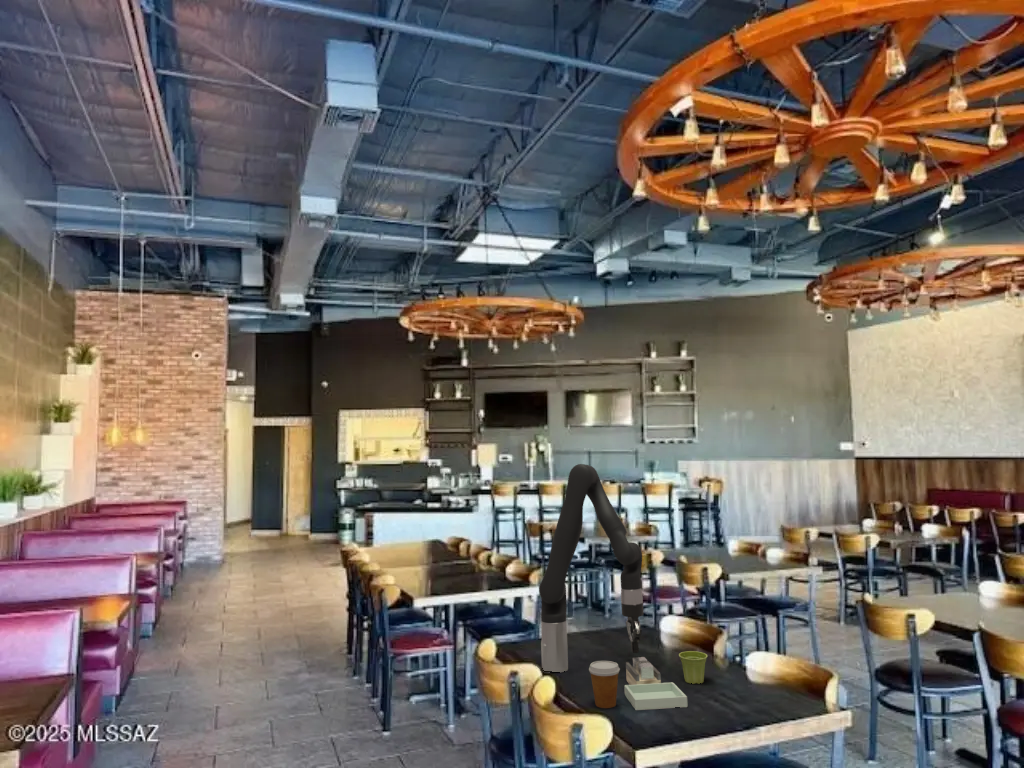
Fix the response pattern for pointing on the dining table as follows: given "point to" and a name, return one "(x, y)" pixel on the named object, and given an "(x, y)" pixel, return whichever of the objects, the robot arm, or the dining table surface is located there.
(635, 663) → the light grey cube
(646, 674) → the pale grey cube
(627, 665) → the slot board
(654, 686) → the tray
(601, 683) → the disposable coffee cup
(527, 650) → the dining table surface
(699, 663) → the plant pot
